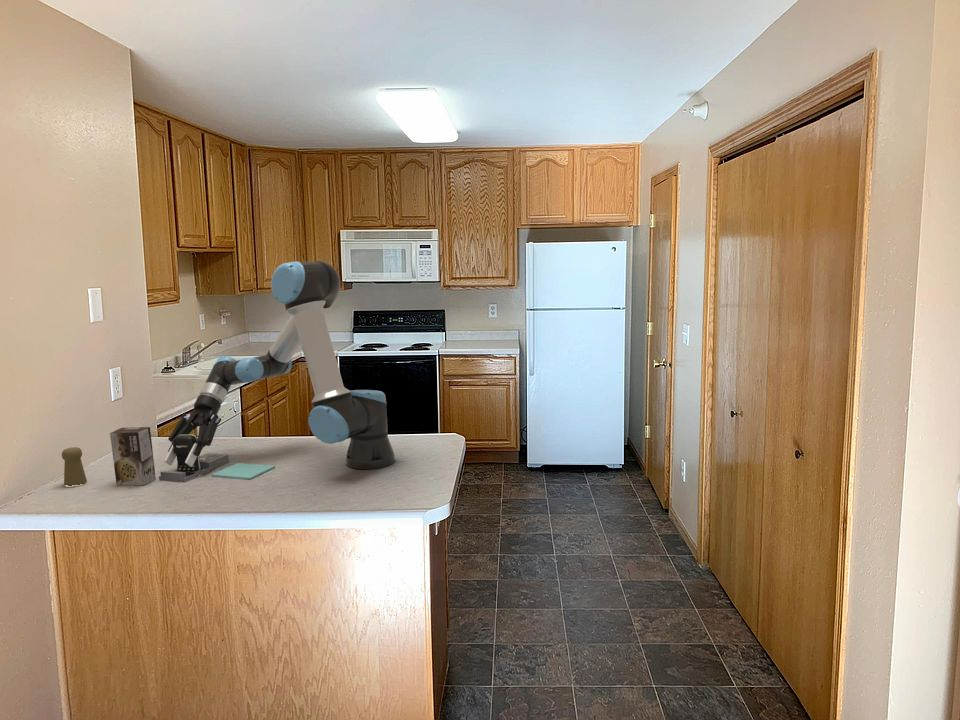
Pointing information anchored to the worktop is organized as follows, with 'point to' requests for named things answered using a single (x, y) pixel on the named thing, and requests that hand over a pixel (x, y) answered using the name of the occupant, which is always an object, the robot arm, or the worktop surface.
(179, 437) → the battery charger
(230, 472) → the mat
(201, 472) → the gray frame with rod
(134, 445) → the coffee box
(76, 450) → the cork
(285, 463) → the worktop surface
